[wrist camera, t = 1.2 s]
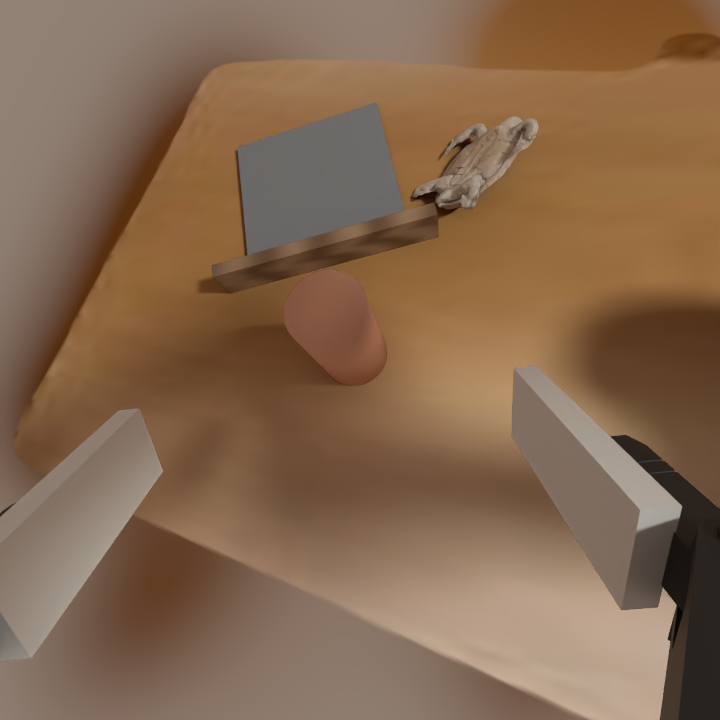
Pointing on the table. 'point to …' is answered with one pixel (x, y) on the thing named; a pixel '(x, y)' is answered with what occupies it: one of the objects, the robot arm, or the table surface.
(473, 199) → the turtle
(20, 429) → the table surface
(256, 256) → the wooden plank
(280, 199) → the mat
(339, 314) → the pink rounded cylinder
